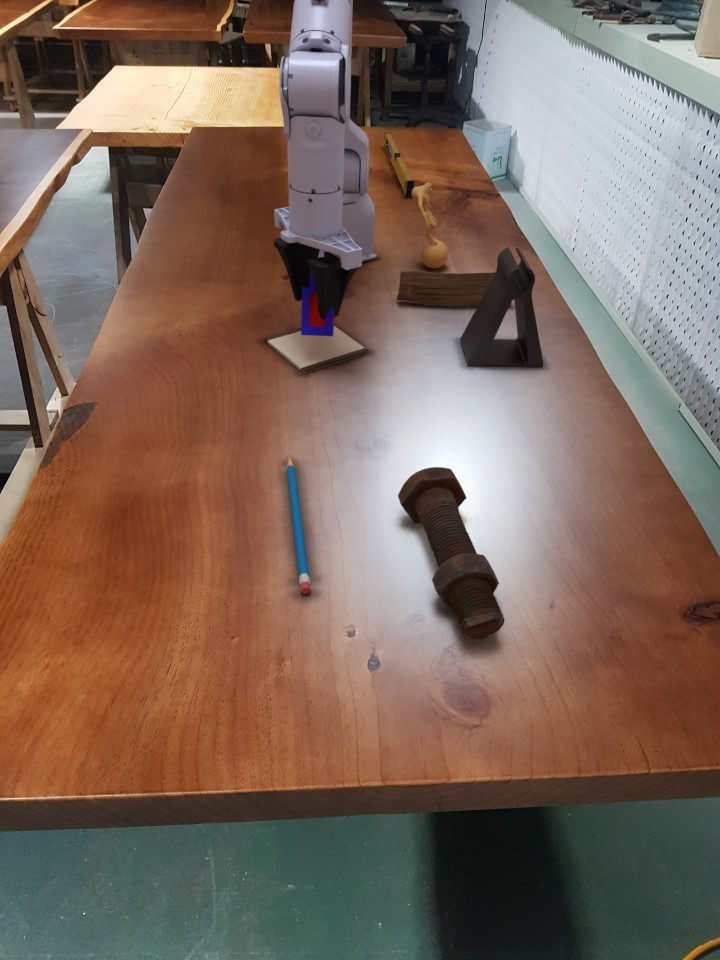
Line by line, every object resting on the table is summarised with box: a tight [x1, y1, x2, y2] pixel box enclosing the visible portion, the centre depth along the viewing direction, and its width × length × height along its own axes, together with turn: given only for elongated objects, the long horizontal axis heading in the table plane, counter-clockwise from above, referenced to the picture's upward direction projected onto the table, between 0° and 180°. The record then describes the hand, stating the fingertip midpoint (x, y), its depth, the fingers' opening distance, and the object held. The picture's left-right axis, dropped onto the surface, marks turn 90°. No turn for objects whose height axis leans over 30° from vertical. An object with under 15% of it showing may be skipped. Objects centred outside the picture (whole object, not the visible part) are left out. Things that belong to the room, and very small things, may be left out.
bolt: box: [397, 466, 505, 640], centre depth 56 cm, size 6×5×15 cm
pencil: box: [286, 457, 312, 595], centre depth 61 cm, size 1×17×1 cm, turn 8°
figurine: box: [411, 181, 449, 269], centre depth 102 cm, size 8×6×12 cm
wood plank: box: [396, 270, 512, 308], centre depth 94 cm, size 15×2×5 cm, turn 93°
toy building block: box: [300, 271, 337, 336], centre depth 81 cm, size 4×4×8 cm
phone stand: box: [459, 246, 544, 368], centre depth 82 cm, size 9×6×12 cm, turn 92°
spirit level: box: [383, 132, 415, 199], centre depth 142 cm, size 33×1×3 cm, turn 5°
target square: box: [264, 325, 369, 374], centre depth 85 cm, size 9×9×1 cm
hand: (316, 307), depth 82 cm, fingers closed on toy building block, 5 cm apart
